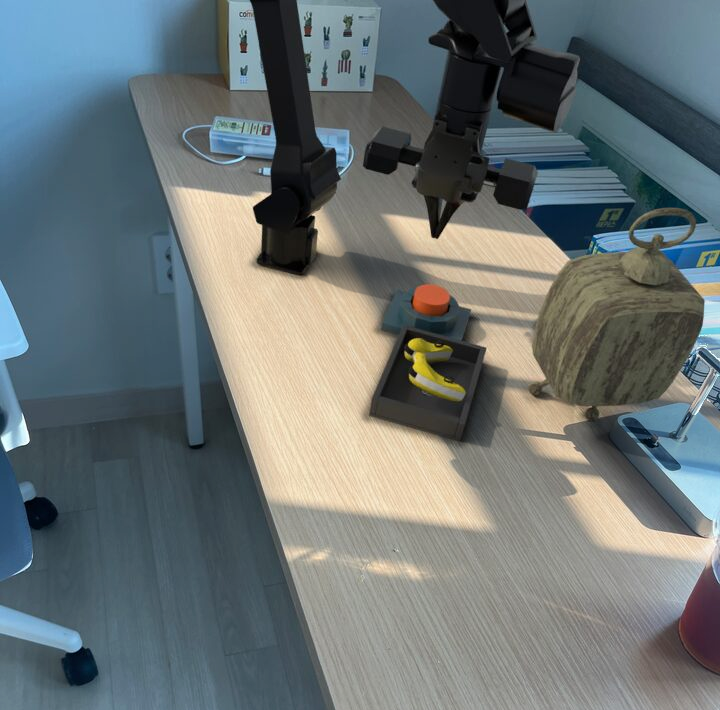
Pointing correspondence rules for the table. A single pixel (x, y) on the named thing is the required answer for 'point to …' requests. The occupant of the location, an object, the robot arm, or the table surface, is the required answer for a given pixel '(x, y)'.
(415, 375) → the yellow curved piece
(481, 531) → the table surface
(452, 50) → the robot arm
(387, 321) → the dock switch
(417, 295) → the button
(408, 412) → the tray
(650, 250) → the tabletop clock
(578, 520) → the table surface
